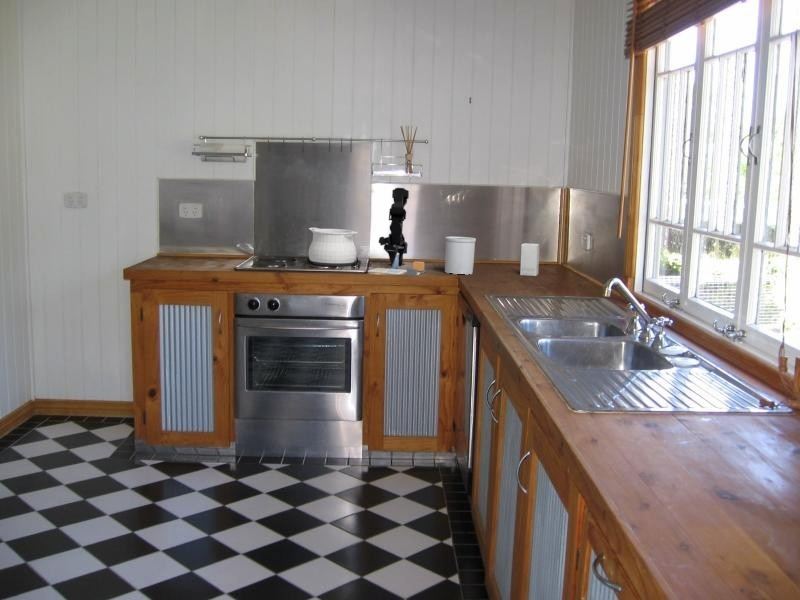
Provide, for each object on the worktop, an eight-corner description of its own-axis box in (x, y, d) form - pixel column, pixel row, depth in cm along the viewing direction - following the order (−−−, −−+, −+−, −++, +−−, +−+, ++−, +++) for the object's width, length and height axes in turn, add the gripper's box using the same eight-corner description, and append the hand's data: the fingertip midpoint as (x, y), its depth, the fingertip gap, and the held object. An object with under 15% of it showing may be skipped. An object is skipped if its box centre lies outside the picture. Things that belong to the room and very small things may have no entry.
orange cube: (415, 269, 433) (415, 261, 432) (424, 270, 432) (424, 262, 431) (412, 270, 429) (413, 262, 429) (421, 271, 428) (421, 262, 427)
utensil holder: (448, 270, 446) (450, 235, 443) (477, 272, 441) (479, 237, 438) (439, 273, 432) (441, 237, 429) (469, 276, 427) (471, 240, 424)
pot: (295, 263, 448) (296, 228, 445) (324, 259, 468) (325, 226, 466) (340, 269, 433) (342, 233, 430) (368, 264, 454) (369, 230, 451)
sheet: (378, 268, 441) (378, 267, 441) (409, 271, 436) (409, 270, 436) (367, 271, 427) (367, 270, 427) (398, 274, 422) (398, 273, 422)
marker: (392, 268, 442) (393, 252, 441) (399, 269, 441) (400, 252, 440) (390, 269, 439) (391, 253, 438) (397, 270, 438) (397, 253, 436)
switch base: (415, 271, 435) (416, 265, 434) (425, 272, 433) (425, 266, 433) (406, 274, 422) (406, 268, 421) (416, 275, 420) (416, 269, 420)
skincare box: (538, 274, 442) (540, 243, 439) (536, 276, 436) (538, 245, 433) (521, 273, 444) (523, 242, 442) (519, 275, 438) (521, 243, 436)
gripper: (387, 229, 448) (386, 259, 451) (374, 232, 431) (373, 263, 433) (408, 230, 445) (407, 261, 447) (395, 233, 427) (394, 265, 430)
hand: (395, 263), depth 439 cm, fingers open, 9 cm apart
